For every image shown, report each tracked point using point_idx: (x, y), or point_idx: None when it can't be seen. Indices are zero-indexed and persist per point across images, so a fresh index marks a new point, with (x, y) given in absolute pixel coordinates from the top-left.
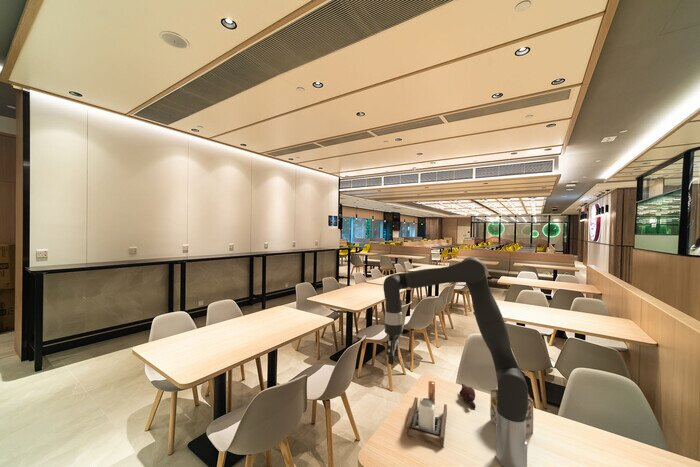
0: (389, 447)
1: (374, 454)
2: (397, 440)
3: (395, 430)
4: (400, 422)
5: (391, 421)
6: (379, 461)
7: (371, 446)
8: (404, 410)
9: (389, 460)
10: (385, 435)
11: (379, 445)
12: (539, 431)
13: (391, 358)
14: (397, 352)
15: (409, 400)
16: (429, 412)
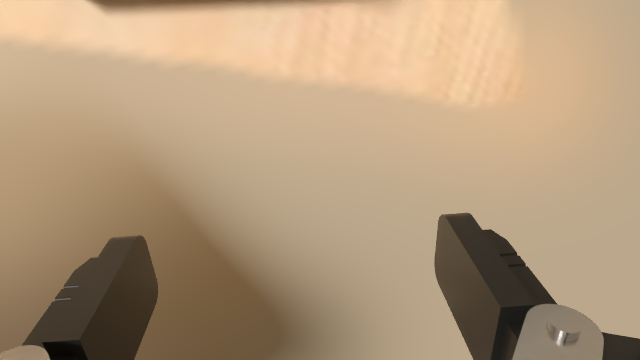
0: (433, 29)
1: (488, 76)
2: (378, 6)
3: (317, 34)
4: (249, 26)
5: (265, 71)
6: (518, 45)
7: (451, 101)
8: (142, 31)
9: (503, 7)
10: (369, 68)
11: (435, 73)
12: None
13: (541, 293)
14: (119, 274)
15: (32, 27)
16: None
